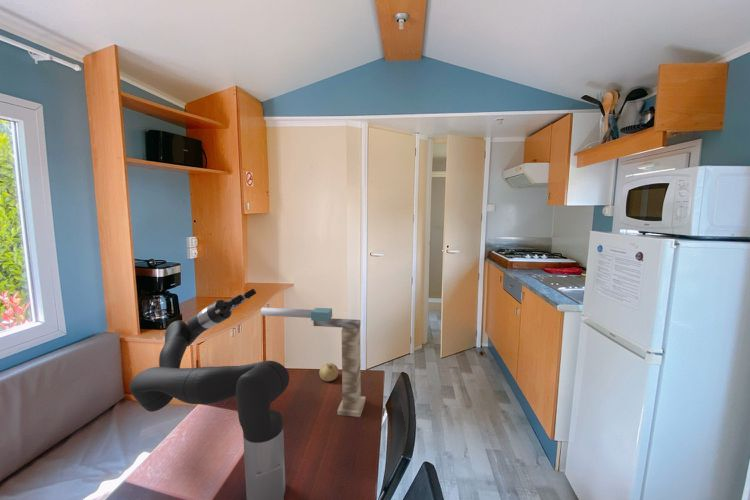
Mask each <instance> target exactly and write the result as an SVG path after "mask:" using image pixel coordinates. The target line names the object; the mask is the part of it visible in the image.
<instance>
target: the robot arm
mask: <svg viewBox="0 0 750 500" xmlns="http://www.w3.org/2000/svg"><path fill="white" fill-rule="evenodd" d="M255 295H257V291H256V290H255V289H254V288H251V289H250V290H247V291H246V292H243V293H242V294H238V295H236V296H235V297H232V298H229V299H227V300H223V299H218V300H216V301H214V302H213V303H211V304H210V305H207V306H206V307H205V308H203V309H202V310H200V311H199V312H198V313H196V314H194V315H193V316H191V317H189V318H188V320H187V323H186V322H185V321H183V320H179V319H178V320H175V321H173V322H171V323H169V325H168V326H167V328H166V330H165V332H164V344H163V347H162V348H161V350H160V353H159V358H158V366H154V367H149V368H147V369H144V370H142V371H141V372H139V373H137V374H136V375H135V376H133V378H132V379H131V381H130V383H129V387H128V388H129V392H130V393H131V395H132V397H134V399H135V400H136V401H137V403H139V405H140V406H141V407H142V408H143V409H144V410H145V411H147V412H150V413H151V412H152V413H154V412H157V411H159V410H162V409H163V408H165V407H166V406H167V405H169V404H170V403H171V402H172V400H173V399H176V400H178V401H181V402H182V403H185V404H190V405H211V404H215V403H219V402H222V401H225V400H229V399H231V398H233V397H235V399H236V400H235V401H236V405H237V416H238V423H239V425H240V427H241V429H242V437H243V439H242V440H243V455H244V457H243V458H244V470H245V472H244V474H245V493H246V494H245V495H246V500H285V497H284V496H285V493H286V470H285V469H286V467H285V465H286V464H285V442H284V419H283V415H282V414H281V413H280V411H279V410H276V409H273V408H272V409H271V408H270V405H271V404H272V403H273V402H274V401H276V399H278V398H279V397H280V396H282V395H283V393H284V392H285V391H286V390H287V388H288V386H289V383H290V374H289V373H290V372H288V370H287V368H286V367H285V366H284V365H282V364H281V363H280V362H277V361H275V360H264V361H258V362H253V363H248V364H244V365H243V364H242V365H224V366H223V365H222V366H200V367H188V368H187V367H184V368H183V367H182V368H181V363H182V360H183V357H184V355H185V352H186V350H187V347H190V346H191V345H192V344H193V343H194V342H195V340H196V339H197V338H198V337H199V336H200V335H201V334H203V333H204V332H205V331H207V330H209V329H210V328H213V327H215V326H218V325H219V324H221V323H222V322H224V321H226V320H227V319H229V318H230V317H231V316H232V311H233V310H236V308H238V307H239V306H241V305H243V304H244V302H246V301H247V300H249V299H251V298H252V297H253V296H255Z"/></svg>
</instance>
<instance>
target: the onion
mask: <svg viewBox="0 0 750 500" xmlns="http://www.w3.org/2000/svg"><path fill="white" fill-rule="evenodd" d="M318 371H319V373H318V375H319V377H320V379H321V380H323V381H324V382H332V381H335V380H336V379H337V378H338V376H339V368H338V366H337V365H336V364H334V363H332V362H328V363H324V364H323V365H322V366H321V367H320V369H319V370H318Z"/></svg>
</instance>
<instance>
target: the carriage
mask: <svg viewBox="0 0 750 500" xmlns="http://www.w3.org/2000/svg"><path fill="white" fill-rule="evenodd" d="M260 315H261V316H265V317H267V316H268V317H269V316H270V317H285V318H286V317H287V318H288V317H289V318H305V319H307V318H308V319H310V320H311V321H312V322H313V321H329V320H330V319H331V318H332V317H333V308H330V307H329V308H328V307H315V308H314V309H304V308H303V309H302V308H283V307H282V308H279V307H261V309H260Z"/></svg>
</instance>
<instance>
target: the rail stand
mask: <svg viewBox="0 0 750 500" xmlns="http://www.w3.org/2000/svg"><path fill="white" fill-rule="evenodd" d="M312 323H313V324H312V325H313V327H327V328H340V329H341V378H342V379H341V381H342V385H341V387H342V389H341V390H342V393H341V394H342V398H341V401H340V404H339V406H338V408H337V410H336V411H337V412H336V414H337V416H344V417H345V416H346V417H347V416H348V417H356V418H361V416H362V412H363V410H364V407H365V403H366V396H362V395H361V394H362V393H361V391H362V389H361V384H362V383H361V381H362V380H361V377H362V376H361V319H349V318H334V317H333V318H331V319H330V320H329V321H312Z"/></svg>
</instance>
